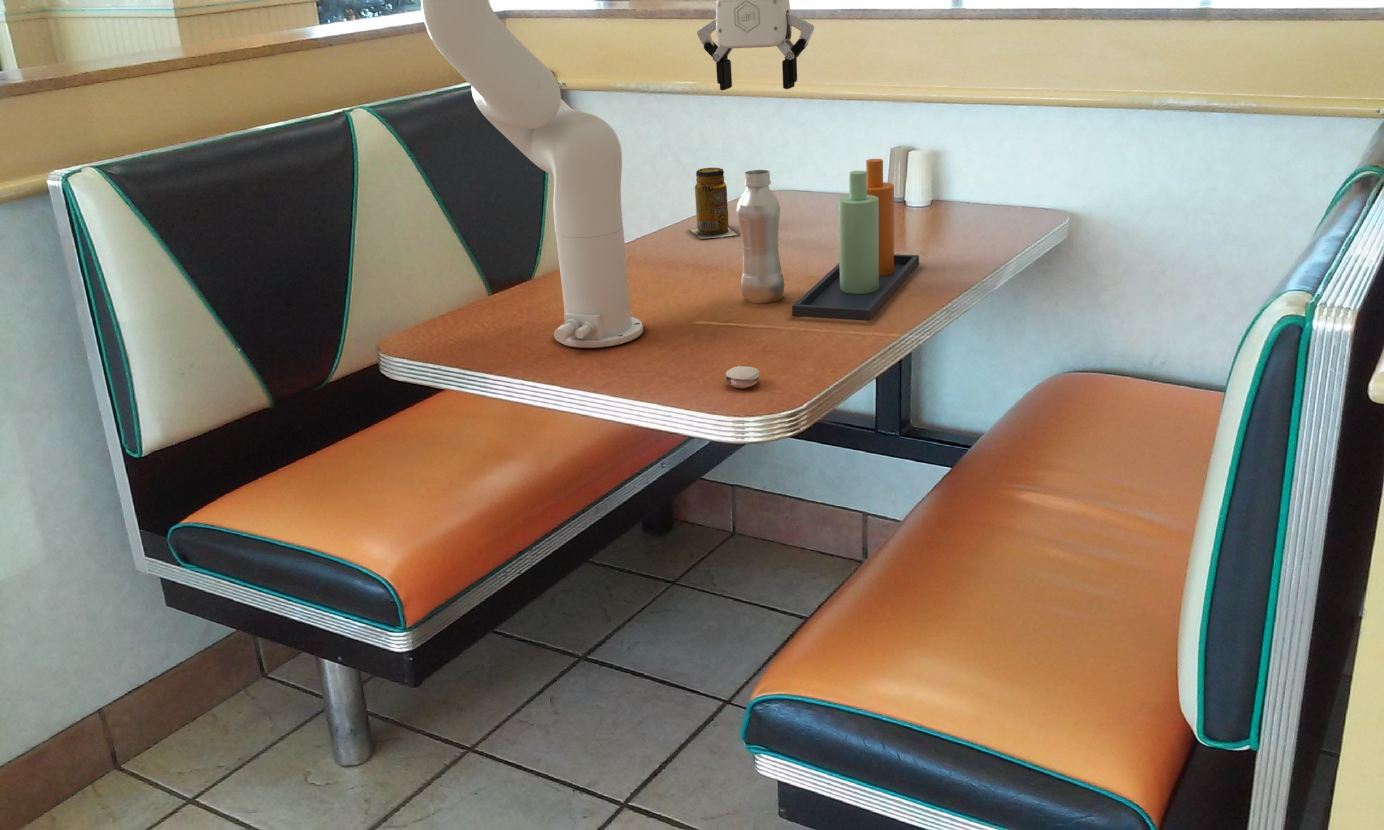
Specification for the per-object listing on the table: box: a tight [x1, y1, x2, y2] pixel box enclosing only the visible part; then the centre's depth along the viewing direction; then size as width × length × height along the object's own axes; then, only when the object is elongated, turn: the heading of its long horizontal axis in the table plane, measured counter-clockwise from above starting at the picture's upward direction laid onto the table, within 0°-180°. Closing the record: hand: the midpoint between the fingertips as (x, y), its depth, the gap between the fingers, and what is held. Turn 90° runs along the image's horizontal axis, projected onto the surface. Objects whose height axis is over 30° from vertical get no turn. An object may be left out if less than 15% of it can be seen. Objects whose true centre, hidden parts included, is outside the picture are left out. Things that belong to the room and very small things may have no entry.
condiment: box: [690, 167, 738, 240], centre depth 222 cm, size 7×8×12 cm
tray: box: [791, 253, 920, 322], centre depth 182 cm, size 31×12×2 cm, turn 157°
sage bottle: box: [837, 170, 879, 294], centre depth 178 cm, size 6×6×18 cm
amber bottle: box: [865, 158, 895, 277], centre depth 186 cm, size 6×6×18 cm
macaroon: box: [725, 365, 760, 389], centre depth 147 cm, size 4×5×2 cm
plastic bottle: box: [735, 169, 785, 305], centre depth 177 cm, size 6×7×20 cm
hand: (757, 88), depth 169 cm, fingers open, 9 cm apart
